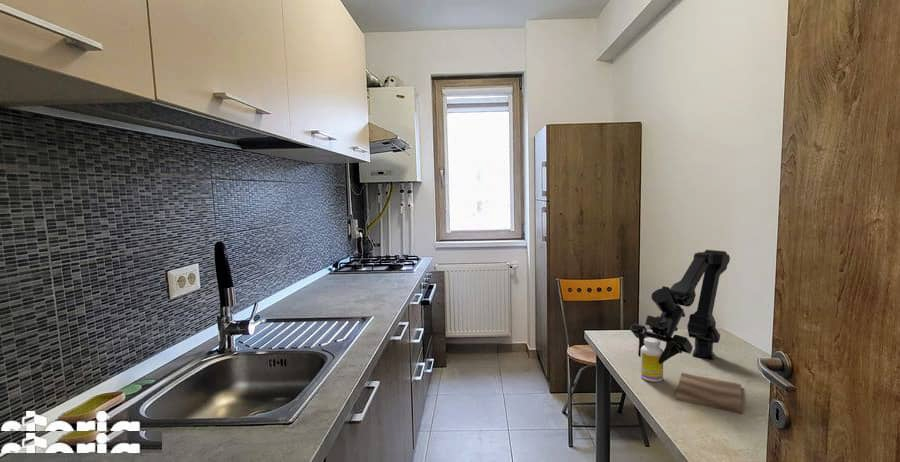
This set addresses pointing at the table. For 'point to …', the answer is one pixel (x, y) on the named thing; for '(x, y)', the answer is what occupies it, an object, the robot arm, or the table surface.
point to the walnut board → (710, 392)
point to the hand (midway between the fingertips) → (649, 359)
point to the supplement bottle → (651, 360)
